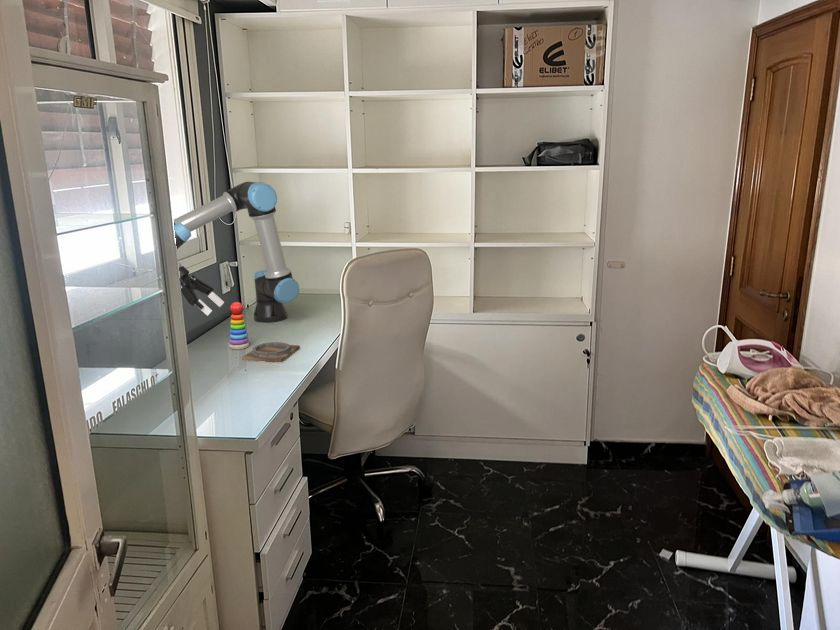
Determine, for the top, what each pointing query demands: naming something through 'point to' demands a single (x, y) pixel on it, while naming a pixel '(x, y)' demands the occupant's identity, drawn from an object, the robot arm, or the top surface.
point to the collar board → (271, 359)
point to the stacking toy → (238, 328)
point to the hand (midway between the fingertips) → (216, 309)
